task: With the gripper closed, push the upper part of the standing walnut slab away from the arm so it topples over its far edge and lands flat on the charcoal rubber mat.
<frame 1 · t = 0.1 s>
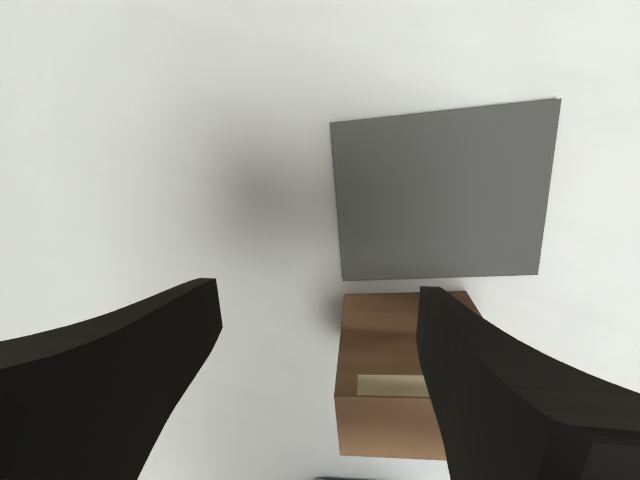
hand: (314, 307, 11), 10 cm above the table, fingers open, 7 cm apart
rubber mat: (436, 200, 19), on the table
walnut slab: (403, 315, 22), on the table
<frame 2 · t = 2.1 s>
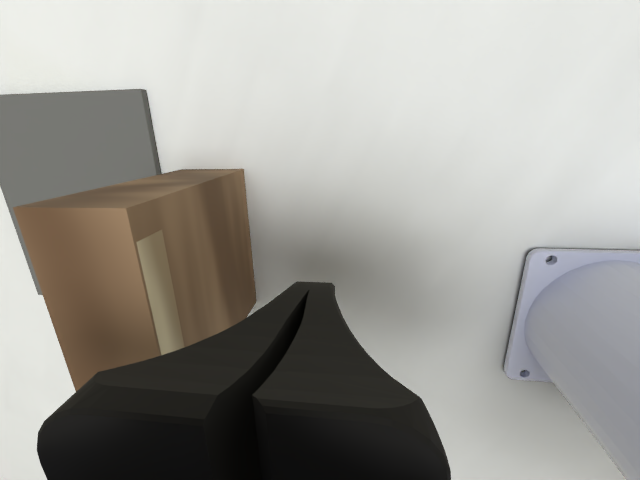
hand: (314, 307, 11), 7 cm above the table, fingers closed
rubber mat: (87, 204, 19), on the table
walnut slab: (221, 239, 18), on the table
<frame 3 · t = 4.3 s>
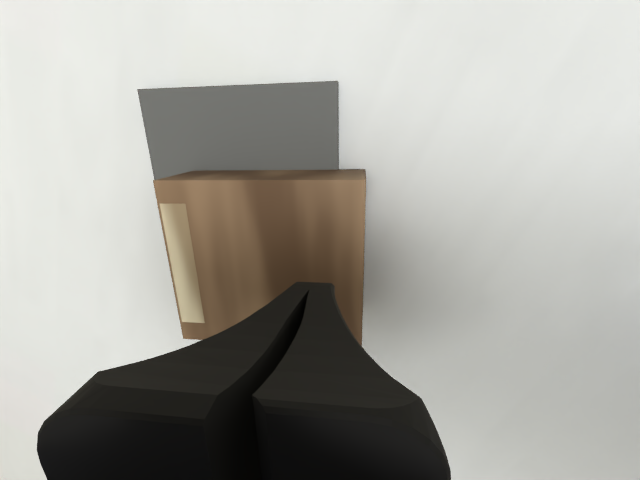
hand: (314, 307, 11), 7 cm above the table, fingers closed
rubber mat: (248, 206, 18), on the table
walnut slab: (363, 257, 15), point 2 cm above the table, tilted 90°, touching rubber mat
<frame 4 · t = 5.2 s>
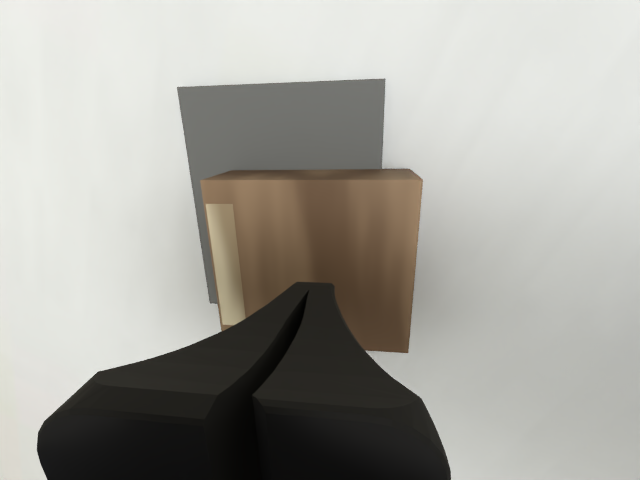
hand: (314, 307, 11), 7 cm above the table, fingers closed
rubber mat: (285, 206, 17), on the table
walnut slab: (408, 258, 15), point 2 cm above the table, tilted 90°, touching rubber mat
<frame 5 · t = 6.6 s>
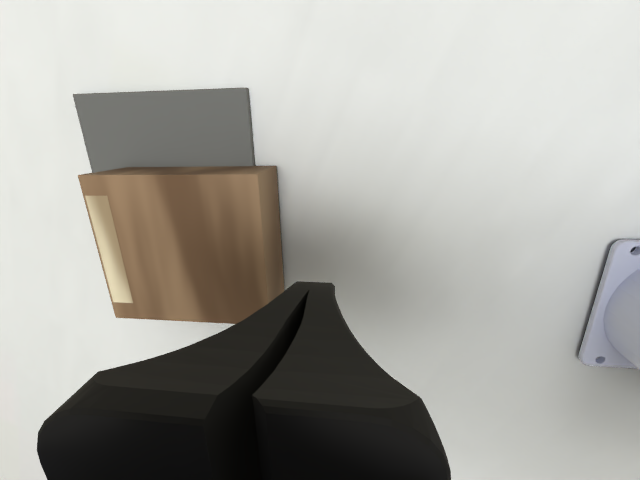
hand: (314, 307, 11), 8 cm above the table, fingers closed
rubber mat: (178, 199, 19), on the table
walnut slab: (273, 244, 17), point 2 cm above the table, tilted 90°, touching rubber mat
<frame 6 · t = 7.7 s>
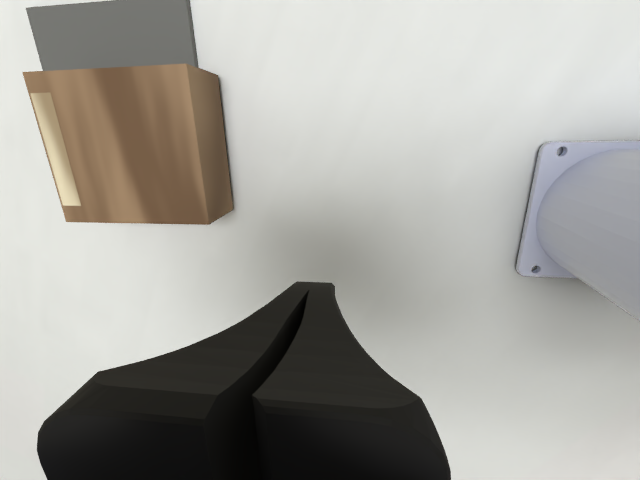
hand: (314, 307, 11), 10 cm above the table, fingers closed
rubber mat: (130, 115, 20), on the table
walnut slab: (213, 148, 18), point 2 cm above the table, tilted 90°, touching rubber mat
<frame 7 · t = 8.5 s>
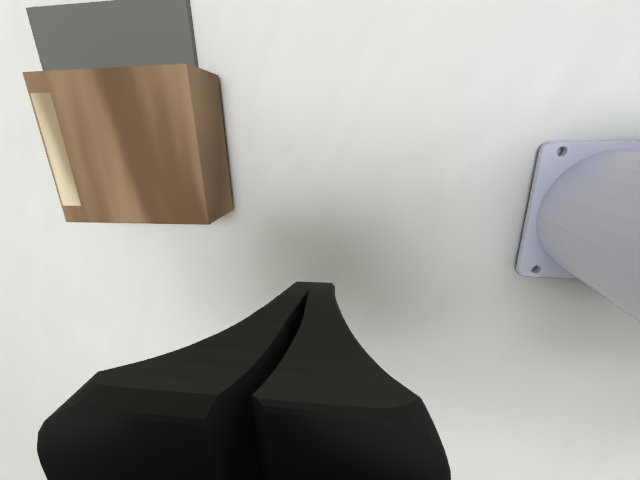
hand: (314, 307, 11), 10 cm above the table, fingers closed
rubber mat: (130, 115, 20), on the table
walnut slab: (213, 148, 18), point 2 cm above the table, tilted 90°, touching rubber mat
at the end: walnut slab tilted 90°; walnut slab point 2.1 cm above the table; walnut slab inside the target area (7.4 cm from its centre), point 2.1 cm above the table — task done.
